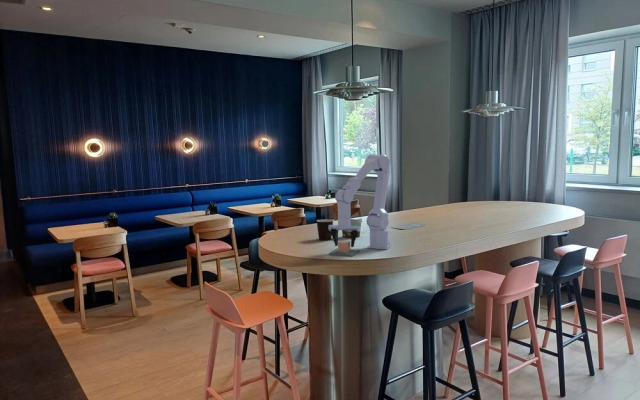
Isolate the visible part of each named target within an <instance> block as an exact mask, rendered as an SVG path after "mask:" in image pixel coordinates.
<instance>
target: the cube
mask: <svg viewBox="0 0 640 400" xmlns="http://www.w3.org/2000/svg"><path fill="white" fill-rule="evenodd" d="M337 248H338V252H344V253H348V252H349V251H350V249H351V240H340V241H338V245H337Z"/></svg>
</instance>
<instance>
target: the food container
mask: <svg viewBox="0 0 640 400" xmlns="http://www.w3.org/2000/svg"><path fill="white" fill-rule="evenodd" d="M362 223H363V219H362V218H357V219H354V218H351V226H360V231H359V232H358V234H357V237H356V239H357V238H360V237H361V227H362ZM350 232H351V231H347V230H341V236H342V238H344V239H351V234H350Z"/></svg>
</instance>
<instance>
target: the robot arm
mask: <svg viewBox="0 0 640 400" xmlns="http://www.w3.org/2000/svg"><path fill="white" fill-rule="evenodd" d="M390 164H391V160H390V158H389V157H388V156H387V154H369V155H368V156H367V157H366V158H365V159H364V163H363V165H362V166H361V168H360V169H359V171H357V173H356V175H355V176H351V177H349V178H348V179H347V180H348V181H347V182H346V183H345V184H344V185H343V186H342V188H341V189H339V190H338V191H337V192H336V194H335V196H334V199H335V201H336V205H337V224H333V225H329V230H331V231H330V233H331V235H332V236H331V238H332V239H333V242H334V246H335V247H338V242H339V238H338V237H339V231H342V230H347V231H351V232H350V234H351V238H350V248H354V247H355V242H356V240H357V238H356V237H357V234H358V232H359V231H360V232H361V229H360V226H351V219H352V218H351V217H352V216H351V215H352V214H351V213H352V212H351V211H352V209H351V206H352V205H351V202H352V201H353V200H354V196H355V193H356V192H357V191H358V190H359V189H360V187H361V186H362V181H363V180H364V179H365V178H366V177H367V176H368V174H370V172H371V171H373V172H375V174H376V175H377V177H376V186H375V191H374V199H373V207H372V208H371V209H370V210H369V212H368V215H367V217H366V225H367V226H368V229H369V246H366V247H367V249H375V250H376V249H377V250H388V249H389V248H390V247H391V230H390V229H387V228H388V226H389V224H390V223H389V221H390V220H389V212H387V210H386V202H387V196H388V195H387V194H388V188H389V181H390Z"/></svg>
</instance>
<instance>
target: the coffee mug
mask: <svg viewBox="0 0 640 400" xmlns="http://www.w3.org/2000/svg"><path fill="white" fill-rule="evenodd" d="M329 225H334V220H333V219H316V227H317V235H318V240H319V241H323V242H324V241H325V242H327V241H331V240H332V235H331V233H330V231H331V230H329Z"/></svg>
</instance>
